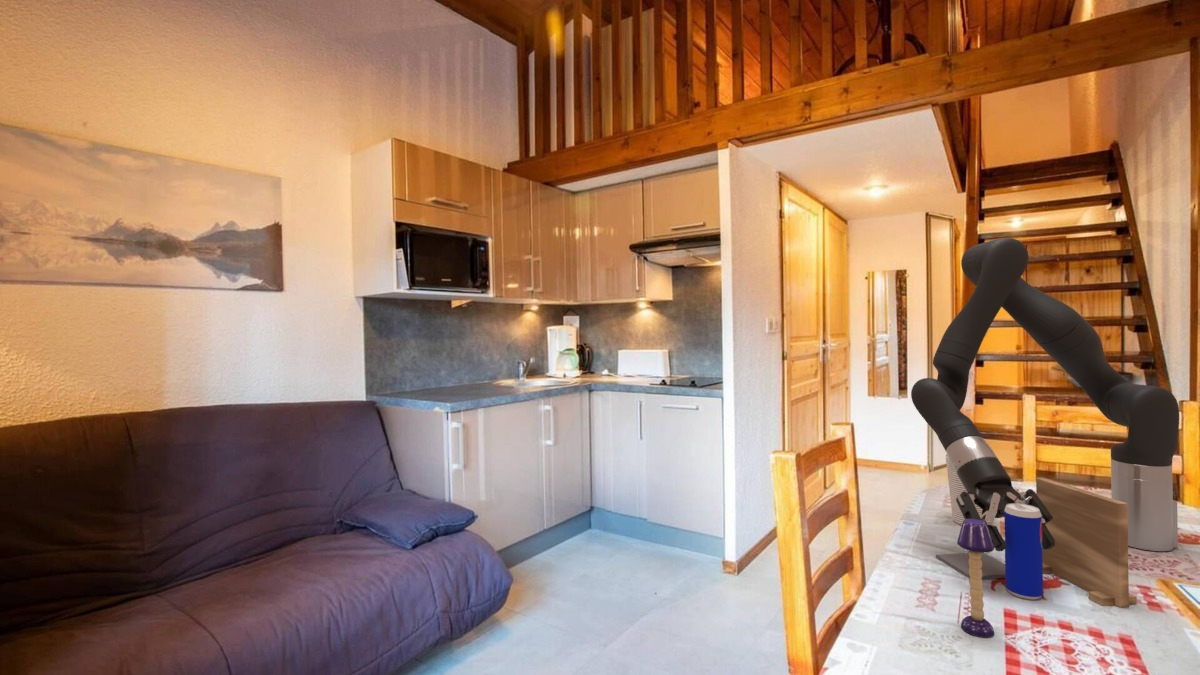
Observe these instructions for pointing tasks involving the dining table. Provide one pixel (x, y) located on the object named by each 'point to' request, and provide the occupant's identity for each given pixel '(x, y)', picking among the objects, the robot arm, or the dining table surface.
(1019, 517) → the beverage can
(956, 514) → the cup
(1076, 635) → the dining table surface
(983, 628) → the toy lamp
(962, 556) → the felt pad
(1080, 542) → the oak board
